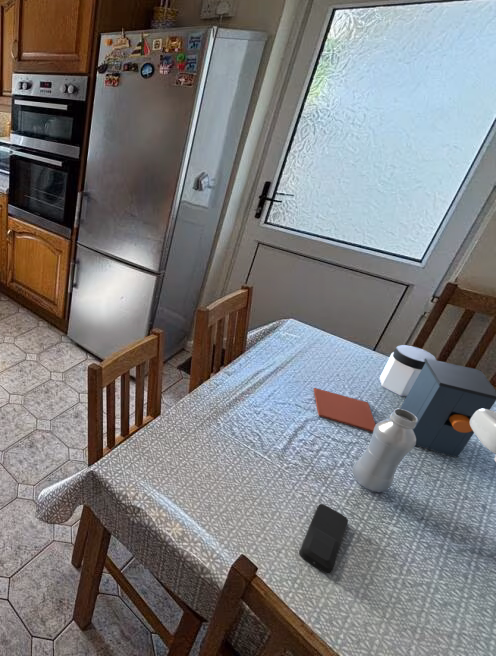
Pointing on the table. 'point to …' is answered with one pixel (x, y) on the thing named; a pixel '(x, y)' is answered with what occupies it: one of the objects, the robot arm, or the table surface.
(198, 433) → the table surface
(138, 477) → the table surface
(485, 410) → the robot arm
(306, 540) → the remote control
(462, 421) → the tap button
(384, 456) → the plastic bottle
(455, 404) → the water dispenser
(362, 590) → the table surface
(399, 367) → the jar
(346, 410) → the mat
